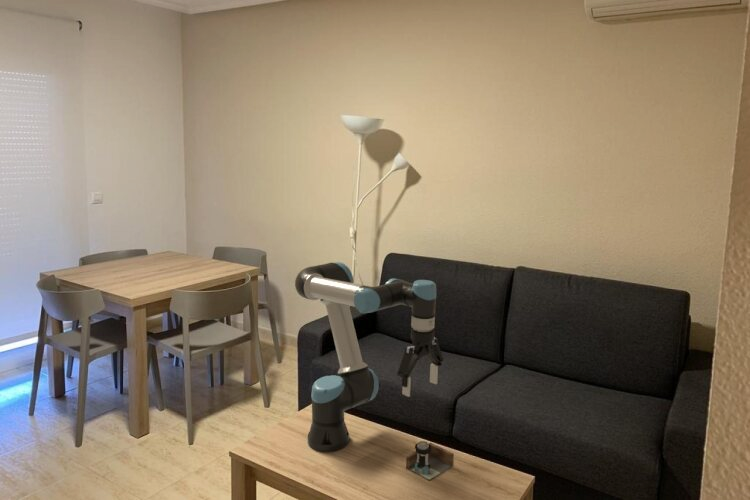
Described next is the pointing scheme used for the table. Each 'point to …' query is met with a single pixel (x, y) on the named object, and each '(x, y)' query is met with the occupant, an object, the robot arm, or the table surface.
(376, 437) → the table surface
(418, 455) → the push button
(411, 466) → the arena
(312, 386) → the robot arm
